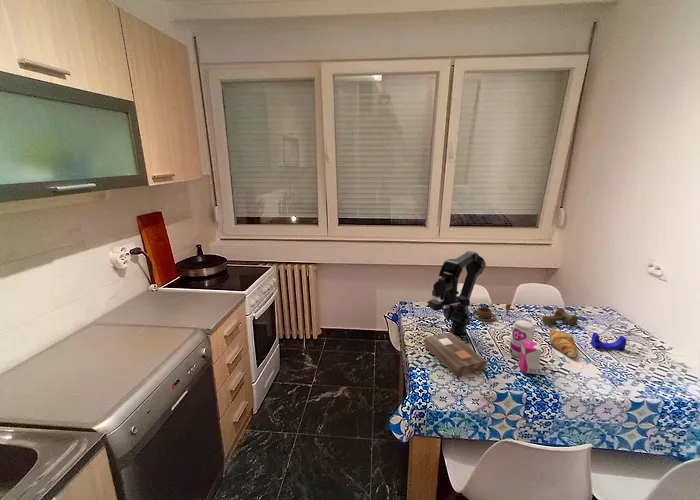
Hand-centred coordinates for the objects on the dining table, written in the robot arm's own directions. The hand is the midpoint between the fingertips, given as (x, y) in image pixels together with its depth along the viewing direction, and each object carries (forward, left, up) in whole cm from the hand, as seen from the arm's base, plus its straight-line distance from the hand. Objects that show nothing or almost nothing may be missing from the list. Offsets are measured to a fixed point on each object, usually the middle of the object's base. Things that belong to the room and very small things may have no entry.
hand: (447, 320), depth 150 cm
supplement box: (-20, +28, -12) cm, 37 cm away
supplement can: (-26, +18, -12) cm, 34 cm away
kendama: (-70, +2, -12) cm, 71 cm away
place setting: (-40, -14, -13) cm, 44 cm away
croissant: (-49, +19, -12) cm, 54 cm away
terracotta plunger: (+3, +16, -11) cm, 19 cm away
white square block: (+3, +4, -12) cm, 13 cm away
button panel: (+3, +10, -12) cm, 16 cm away
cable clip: (-68, +27, -12) cm, 75 cm away
